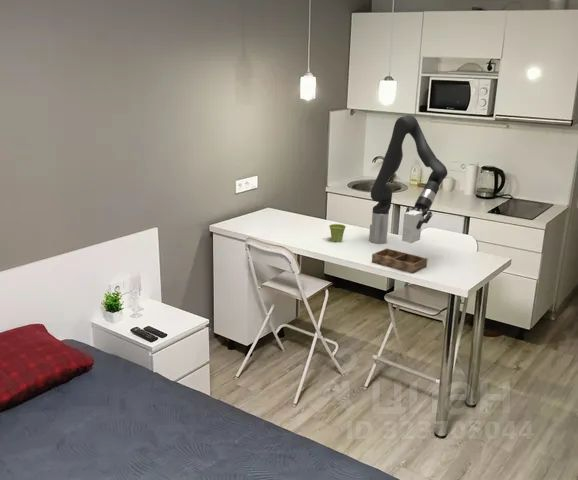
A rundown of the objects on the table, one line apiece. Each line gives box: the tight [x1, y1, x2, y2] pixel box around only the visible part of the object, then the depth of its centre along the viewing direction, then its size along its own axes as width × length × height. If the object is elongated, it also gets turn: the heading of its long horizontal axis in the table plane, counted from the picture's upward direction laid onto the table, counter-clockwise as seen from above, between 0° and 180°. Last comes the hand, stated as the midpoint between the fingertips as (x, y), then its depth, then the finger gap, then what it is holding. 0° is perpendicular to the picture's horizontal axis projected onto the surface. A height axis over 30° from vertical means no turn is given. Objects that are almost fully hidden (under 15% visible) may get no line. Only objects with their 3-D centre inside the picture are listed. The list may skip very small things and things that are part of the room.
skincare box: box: [401, 210, 422, 244], centre depth 304 cm, size 8×6×15 cm
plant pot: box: [328, 223, 347, 243], centre depth 350 cm, size 9×9×9 cm
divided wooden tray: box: [371, 247, 428, 274], centre depth 313 cm, size 24×14×4 cm, turn 49°
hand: (411, 227), depth 304 cm, fingers closed on skincare box, 6 cm apart
